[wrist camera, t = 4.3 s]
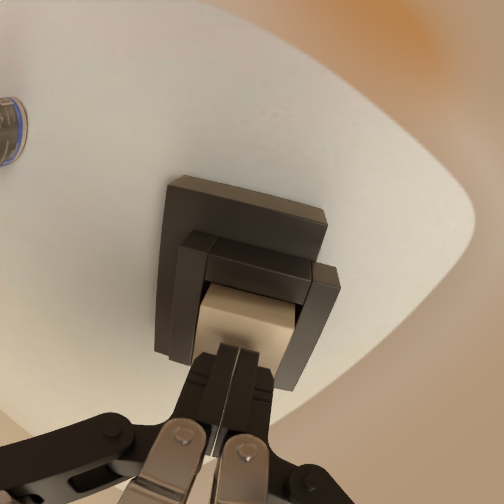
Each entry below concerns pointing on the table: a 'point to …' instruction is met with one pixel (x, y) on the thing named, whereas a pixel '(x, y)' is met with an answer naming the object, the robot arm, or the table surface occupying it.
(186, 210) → the key box
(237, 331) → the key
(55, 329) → the table surface
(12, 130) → the pill bottle
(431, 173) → the table surface
